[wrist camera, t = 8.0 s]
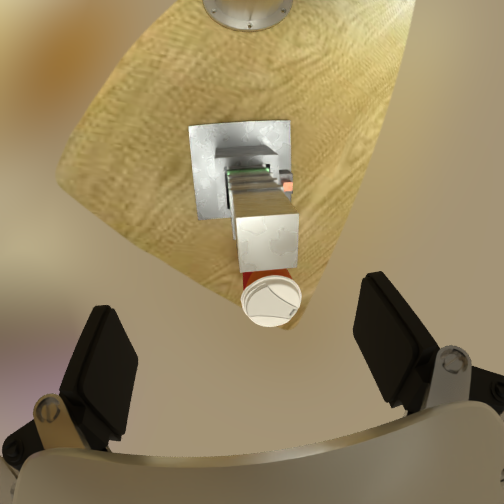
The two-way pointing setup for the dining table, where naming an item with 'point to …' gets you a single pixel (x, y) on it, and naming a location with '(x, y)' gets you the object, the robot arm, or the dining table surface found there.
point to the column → (262, 219)
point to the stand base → (236, 159)
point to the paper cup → (270, 297)
